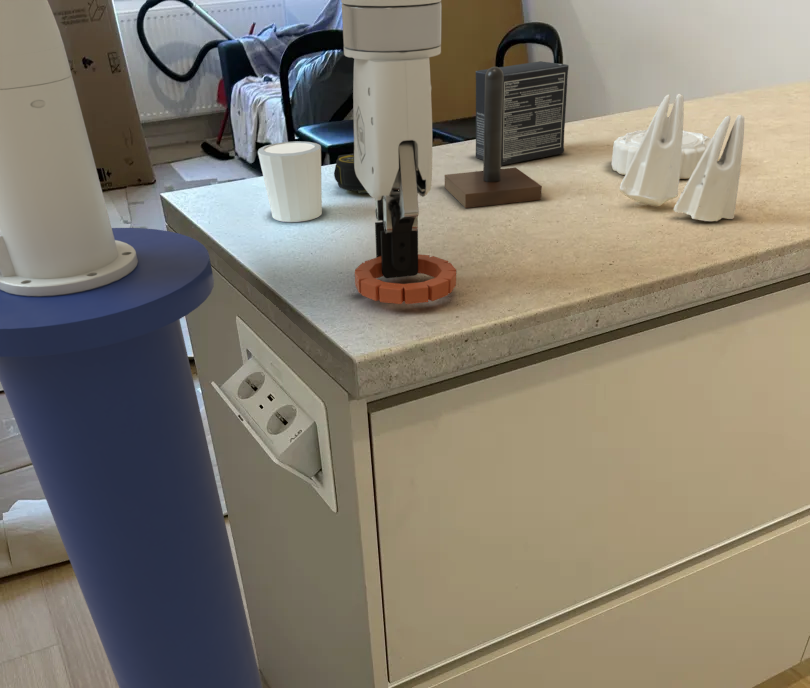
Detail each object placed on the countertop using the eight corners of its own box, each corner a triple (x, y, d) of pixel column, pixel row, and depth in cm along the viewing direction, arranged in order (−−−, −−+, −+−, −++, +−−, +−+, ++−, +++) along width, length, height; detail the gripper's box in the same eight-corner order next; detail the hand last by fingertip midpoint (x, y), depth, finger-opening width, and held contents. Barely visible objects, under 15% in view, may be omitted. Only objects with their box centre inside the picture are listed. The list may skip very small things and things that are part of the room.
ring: (366, 308, 66) (365, 293, 65) (348, 272, 72) (347, 258, 72) (466, 298, 67) (467, 283, 66) (440, 264, 74) (440, 249, 73)
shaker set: (614, 207, 88) (627, 93, 81) (634, 198, 90) (648, 87, 84) (718, 227, 81) (741, 105, 75) (736, 217, 84) (761, 97, 77)
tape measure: (394, 181, 100) (392, 149, 98) (389, 197, 95) (387, 163, 92) (340, 183, 101) (337, 150, 98) (332, 198, 95) (329, 164, 93)
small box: (536, 145, 112) (541, 58, 106) (565, 154, 108) (572, 64, 101) (472, 157, 108) (473, 68, 102) (499, 166, 104) (502, 74, 97)
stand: (465, 208, 90) (466, 76, 82) (444, 187, 97) (443, 64, 89) (541, 199, 91) (549, 69, 83) (515, 180, 98) (520, 58, 90)
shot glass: (307, 202, 95) (300, 137, 90) (339, 214, 90) (333, 146, 86) (256, 214, 91) (246, 147, 87) (285, 227, 87) (277, 158, 83)
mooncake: (632, 152, 107) (636, 123, 104) (723, 162, 101) (729, 131, 99) (595, 174, 99) (598, 142, 97) (691, 185, 93) (697, 152, 91)
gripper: (328, 23, 67) (342, 247, 78) (362, 47, 54) (373, 308, 66) (415, 19, 68) (417, 240, 79) (468, 42, 56) (461, 299, 67)
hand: (397, 269), depth 72 cm, fingers closed on ring, 1 cm apart
